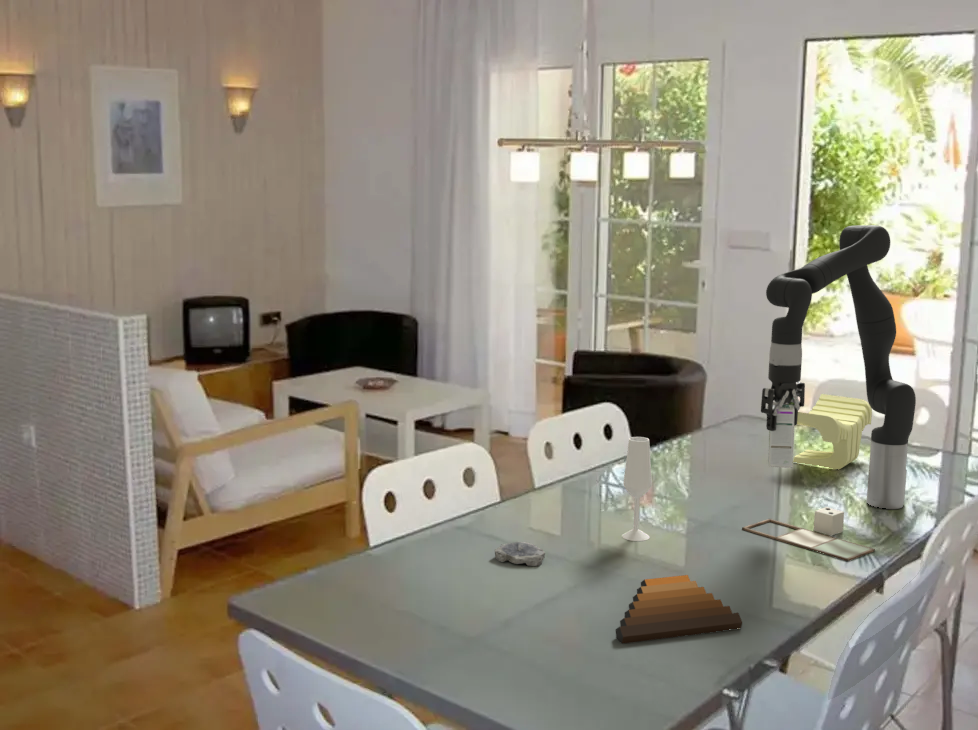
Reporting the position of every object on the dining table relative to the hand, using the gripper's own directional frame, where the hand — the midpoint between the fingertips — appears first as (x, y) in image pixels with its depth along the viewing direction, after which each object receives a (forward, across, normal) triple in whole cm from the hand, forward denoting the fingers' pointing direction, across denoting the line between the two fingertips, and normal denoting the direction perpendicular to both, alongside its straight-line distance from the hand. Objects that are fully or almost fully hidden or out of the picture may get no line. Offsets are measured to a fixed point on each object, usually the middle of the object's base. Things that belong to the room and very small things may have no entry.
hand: (781, 427), depth 279 cm
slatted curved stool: (+26, -66, -29) cm, 76 cm away
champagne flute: (+26, +30, -18) cm, 44 cm away
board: (+26, 0, +9) cm, 27 cm away
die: (+26, -10, +8) cm, 29 cm away
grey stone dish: (+26, +62, -24) cm, 72 cm away
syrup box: (+9, 0, 0) cm, 9 cm away
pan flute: (+26, +63, +16) cm, 70 cm away
